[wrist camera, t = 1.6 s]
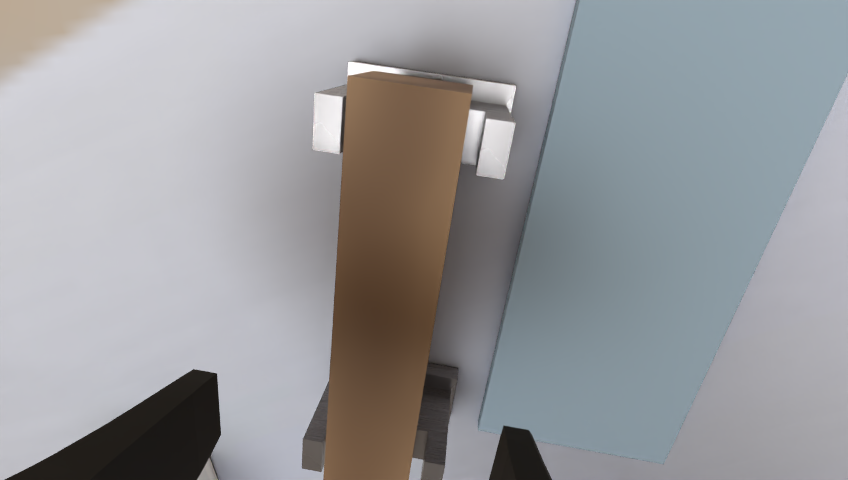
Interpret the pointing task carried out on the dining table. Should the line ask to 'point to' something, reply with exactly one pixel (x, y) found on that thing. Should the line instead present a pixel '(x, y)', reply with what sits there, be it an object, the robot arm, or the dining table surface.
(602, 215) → the mat
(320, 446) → the bracket
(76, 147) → the dining table surface
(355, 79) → the rail
